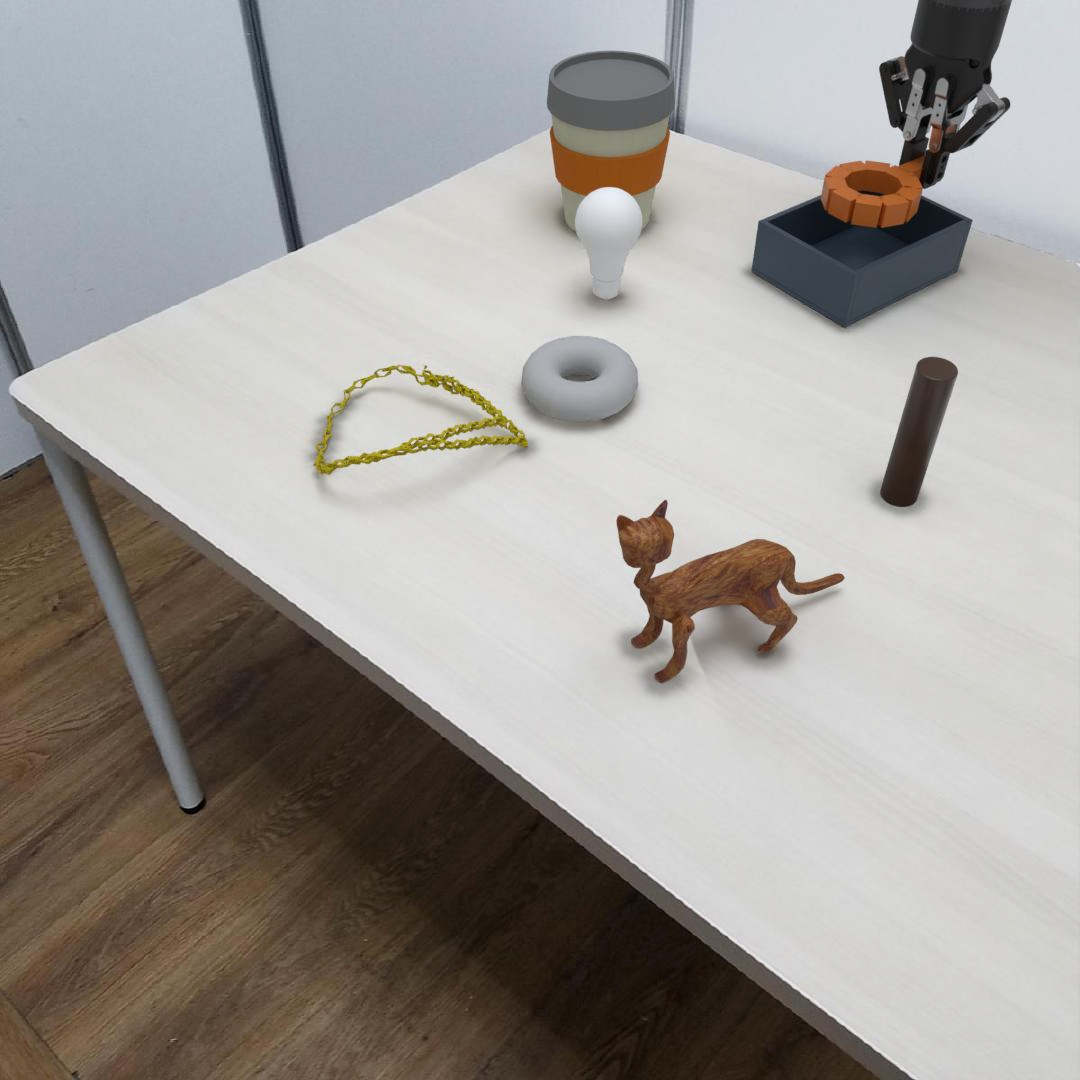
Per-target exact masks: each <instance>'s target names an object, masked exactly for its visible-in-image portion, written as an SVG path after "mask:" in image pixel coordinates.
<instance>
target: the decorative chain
mask: <svg viewBox="0 0 1080 1080" xmlns="http://www.w3.org/2000/svg"><path fill="white" fill-rule="evenodd" d="M422 366H423V369H422V373H421V374H418V373H417V371H416V370H415V369H414V368H413V367H412V366H411V365H404V364H398V365H390V366H388V367H382V368H379V369H376V370H375V371H374V372H373V374H371V375H369V376H367V377H362V378H360V379H357V380H354V381H353V382H352V385H351V386H350V387H348V388H347V389H344V390H343V396H344V397H343V400H342V401H341V402H335V403H334V404H333V405H332V407H331V408H330V413H329V415H327V416H326V421H327V427H326V428H324V431H323V433H322V438H323V439H322V441H320V442H318V443H316V444H315V450H316V451H317V453H318V454H317V455H316V457H315V460H314V462H313V464H312V466H314V467H315V468H316V471H317V472H318V473H319V474H320V475H323V476H324V474H326V475H328V476H330V475H331V474H332V473H333V472H335V470H336V469H343V468H348V467H350V466H352V465H359V466H360V465H361V464H366V465H370V464H371V463H379V462H380V461H383V460H386V459H389V458H392V457H400V456H406V455H407V454H416V453H420V452H422V451H423V452H427V451H428V450H431V451H436V450H439V451H441V452H442V451H444V450H446V449H447V450H449V451H452V450H454V449H455V450H456V451H458V450H459V449H461V448H462V449H471V448H473V447H476V446H480V447H482V446H485V445H489V446H491V445H492V446H497V445H504V446H508V445H517V446H521V447H522V448H523V449H525V448H527V447H529V441H528V439H527V438H526V434H525V432H524V430H522V429H519V427H518V426H515V424H514V422H513V421H512V419H508V417H507V416H506V415H504V414H503V412H502V409H497V407H496V405H495V406H494V405H492V402H491V400H488V399H486V398H485V397H484V396H482V395H481V393H480V392H479V390H475V389H474V388H470V387H468V386H467V385H465V384H462V383H461V381H459V380H458V379H455V376H454V375H453V376H449V375H448V374H445V375H441V374H433V372H432V371H431V370H429V369H427V368H428V365H425V364H422ZM399 367H401V368H402V369H399ZM380 371H381V372H383V373H384V372H386V373H385V374H384V375H379V373H378V372H380ZM392 371H397V372H399V373H400V374H401V375H402V374H403V375H411V376H413V377H414V378H415V381H416V382H417V384H419V385H420V386H427V385H428V386H430V387H432V388H437V389H438V388H439V387H440V386H442V388H443V389H444V390H445V391H447V392H449V393H450V394H451V395H460V396H461V397H466V398H469V399H470V402H471V403H474V404H475V405H476V406H480V407H481V411H486V414H488V415H490V416H491V418H489V417H484V418H483V419H481V420H480V421H479V420H475V421H468V422H467V424H465V423H460V424H455V425H454V426H453V427H452V426H451V427H447V428H446V429H444V430H443V431H442V432H441V433H440V434H439V433H438V434H434V433H427V434H426V435H425V436H418V437H411V438H410V439H409V440H408V441H404V442H401V444H400V445H399V446H397V447H393V448H390V449H379V450H378V451H373V452H371V453H367V452H363V453H361V454H360V455H347V456H346V457H344V458H340V459H334V460H333V462H326V460H325V456H324V455H323V454H324V452H325V450H326V448H327V447H328V444H327V443H328V440H329V438H330V437H332V436H333V432H332V431H331V430H332V426H333V425H334V423H333V420H332V419H333V417H334V415H336V414H338V413H340V412H341V411H342V410H344V408H345V407H346V406H347V402H349V401H350V400H351V399H352V396H351V393H352V392H353V391H354V390H356V389H363V387H365V385H366V384H367V383H368V382H370V381H372V380H374V379H375V378H377V379H378V378H386V377H388V376H390V375H391V374H392ZM418 377H421V378H423V379H424V381H420V380H419V378H418ZM358 383H360V384H361V386H356V385H357V384H358ZM455 383H456V384H455ZM346 394H347V395H348V397H346ZM336 407H340V408H339V409H337V410H336V411H334V408H336ZM507 424H509V425H507ZM497 426H499V427H500V428H501V429H503V428H504V429H505V430H508V431H509V433H511V434H513V435H511V434H508V435H506V436H501V435H497V434H495V435H493V436H492V437H491V436H489V435H488V436H487V435H483V434H482V435H481V436H479V437H477V436H474V437H469V438H468V439H467V440H466V439H458V438H456V439H455V440H454V441H449V440H448V439H449V438H452V437H454V436H455V435H456V436H459V435H460V434H461V433H462V434H466V433H467V432H470V433H472V432H473V431H474V430H476V431H479V430H480V429H482V430H485V429H486V428H487V427H489V428H492V427H495V428H496V427H497ZM327 433H328V434H327ZM429 438H431V439H429ZM428 439H429V440H428ZM414 441H415V442H414ZM442 444H444V445H442ZM441 445H442V446H441ZM321 446H324V447H323V448H320V447H321Z"/></svg>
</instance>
